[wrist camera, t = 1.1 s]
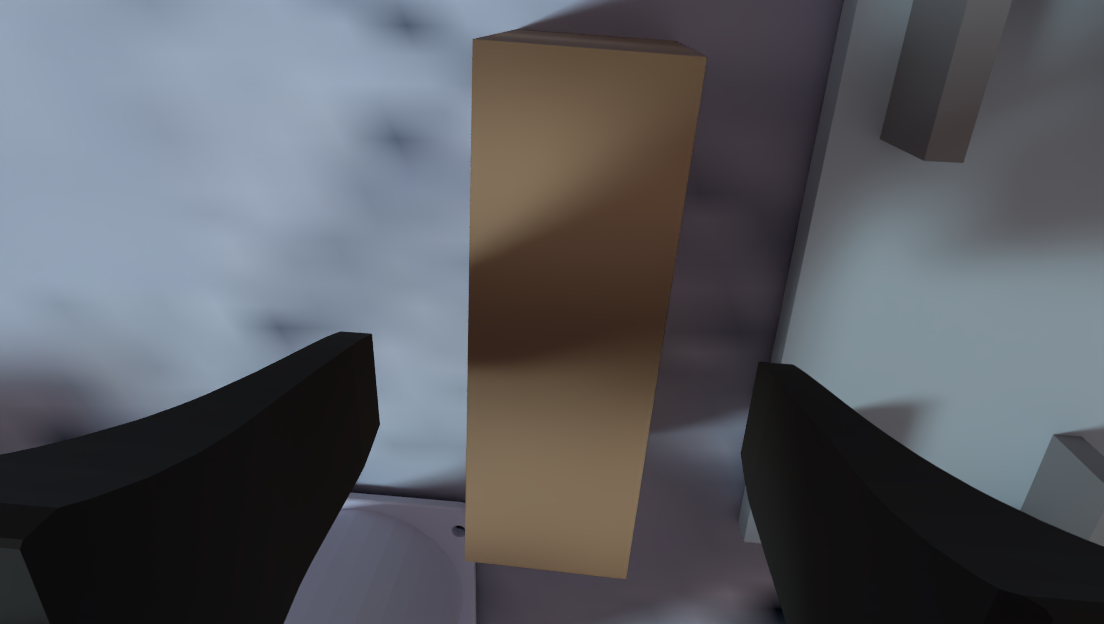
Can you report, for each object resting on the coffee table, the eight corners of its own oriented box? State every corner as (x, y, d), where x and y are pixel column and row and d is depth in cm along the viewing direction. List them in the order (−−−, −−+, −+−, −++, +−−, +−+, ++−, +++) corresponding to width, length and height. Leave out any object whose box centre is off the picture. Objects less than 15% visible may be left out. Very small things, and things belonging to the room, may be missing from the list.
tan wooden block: (622, 435, 22) (626, 579, 16) (501, 423, 22) (464, 560, 16) (675, 41, 17) (707, 57, 11) (517, 28, 17) (472, 39, 11)
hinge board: (1043, 546, 22) (1116, 637, 19) (737, 520, 22) (759, 604, 19) (1335, -82, 14) (1540, -108, 11) (863, -98, 15) (932, -126, 12)
